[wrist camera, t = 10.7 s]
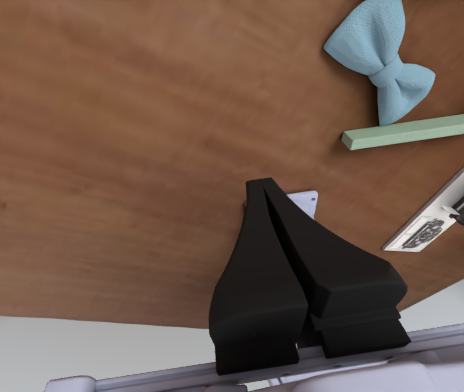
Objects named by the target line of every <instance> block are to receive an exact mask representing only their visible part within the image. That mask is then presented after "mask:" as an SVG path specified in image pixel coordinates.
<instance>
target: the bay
mask: <svg viewBox="0 0 464 392" xmlns="http://www.w3.org/2000/svg"><path fill="white" fill-rule="evenodd" d="M459 134H464V114H460V115H453V116H446V117H439V118H432V119H426V120H419V121H412V122H405V123H398V124H391V125H385V126H377V127H370V128H363V129H356V130H349V131H344V132H343V136H342V140H341V141H342V142H343V143H344V144H345V145H346V146H347V147H348V148H349V149H350V150H356V149H362V148H369V147H376V146H383V145H390V144H397V143H404V142H411V141H417V140H424V139H431V138H438V137H445V136H452V135H459Z"/></svg>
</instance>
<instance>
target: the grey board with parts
mask: <svg viewBox="0 0 464 392" xmlns="http://www.w3.org/2000/svg"><path fill="white" fill-rule="evenodd" d="M455 221H457V222H458V223H459V224H461V225H463V226H464V167H463V168H462V169H461V170H460V171H459V172H458V173H457V174H456V175H455V176H454V177H453V178H452V179H451V180H450V181H449V182H448V183H447V184H446V185H445V186H444V187H443V188H442V189H441V190H440V191H439V192H438V193H437V194H436V195H435V196H434V197H433V198H432V199H431V200H430V201H429V202H428V203H426V204H425V205H424V206H423V207H422V208H421V209H420V210H419V211H418V212H417V213H416V214H415V215H414V216H413V217H412V218H411V219H410V220H409V221H408V222H407V223H406V224H405V225H404V226H403V227H402V228H401V229H400V230H399V231H398V232H397V233H396V234H395V235H394V236H393V237H392V238H391V239H390V240H389V241H388V242H387V243H386V244H385V245H384V246H383V247H382V249H383V250H391V251H411V252H420V251H421V250H422V249H423V248H424V247H426V246H427V245H428V244H429V243H430V242H432V241H433V240H434V239H435V238H436V237H438V236H439V235H440V234H441V233H442V232H444V231H445V230H446V229H447V228H448V227H449V226H451V225H452V224H453V223H454V222H455Z"/></svg>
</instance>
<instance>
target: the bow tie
mask: <svg viewBox="0 0 464 392" xmlns="http://www.w3.org/2000/svg"><path fill="white" fill-rule="evenodd" d="M404 30H405V16H404V11H403V6H402V2H401V0H366V1H364V2H362V3H361V4H360V5H359V6H357V7H356V8H355V9H354V10H353V11H352V12H351V13H350V14H349V15H348V16H347V17H346V18H345V20H344V21H343V22H342V23H341V24H340V25H339V27H338V28H337V29H336V30H335V31H334V33H333V34H332V35H331V36H330V38H329V39H328V40H327V42H326V43H325V45H324V47H323V48H324V49H325V51H326V52H328V53H329V54H330V55H331V56H332V57H333V58H334V59H336V60H337V61H338V62H339V63H341V64H342V65H344V66H345V67H347V68H349V69H351V70H353V71H356V72H359V73H362V74H365V75H368V77H369V79H370V80H371V82H372V83H373V84H374V85H375V86H377V87H378V88H377V92H378V98H377V101H378V116H379V125H380V126H385V125H389V124H391V123H393V122H395V121H397V120H398V119H400V118H402V117H403V116H404V115H406V114H407V113H408V112H409V111H410V110H411V109H412V108H413V107H415V106H416V105H417V104H418V103H419V102H420V101H421V100H422V99H424V97H425V96H426V95H427V94H428V92H429V91H430V89H431V87H432V85H433V82H434V79H435V74H434V73H433V72H432V71H431V70H429V69H428V68H425V67H422V66H420V65H417V64H403V63H402V61H401V60H400V58H399V55H398V53H397V52H398V48H399V46H400V43H401V41H402V38H403V35H404Z"/></svg>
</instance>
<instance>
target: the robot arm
mask: <svg viewBox="0 0 464 392" xmlns="http://www.w3.org/2000/svg"><path fill="white" fill-rule="evenodd" d="M246 193H247V200H246V203H245V206H246V208H245V214H244V218H243V223H242V227H241V230H240V233H239V237H238V239H237V242H236V245H235V248H234V250H233V253H232V255H231V257H230V259H229V261H228V264H227V266H226V268H225V270H224V272H223V274H222V276H221V277H220V279H219V281H218V283H217V285H216V287H215V290H214V293H213V297H212V301H211V305H210V311H209V334H210V337H211V339H212V341H213V343H214V345H215V355H216V362H212V363H205V364H199V365H192V366H186V367H180V368H173V369H166V370H161V371H154V372H147V373H141V374H134V375H128V376H121V377H116V378H108V379H102V380H95V379H94V378H93V377H90V376H73V377H67V378H61V379H54V380H50V381H49V382H48V383H47V385H46V387H45V390H44V392H248V391H247V386H246V385H236V384H243V383H249V382H256V381H262V380H267V381H268V382H269V384H270V386H271V387H266V388H262V389H258V390H253V391H249V392H464V323H463V324H457V325H451V326H443V327H437V328H431V329H424V330H418V331H412V332H406V331H405V330H404V328H403V326H402V325H401V323H400V321H399V320H398V319H400V318H401V316H400V314H399V312H398V310H397V309H396V305H397V304H398V303H399V302H400V301H401V300H402V298H403V297H404V296H405V294H406V293H407V285H406V284H405V282H404V281H403V279H402V278H401V276H400V275H399V274H398V272H397V271H396V270H395V269H394V267H393V266H392V265H391V264H390V263H389V262H388V261H386V260H384V259H381V258H379V257H377V256H375V255H373V254H371V253H368V252H366V251H364V250H362V249H360V248H358V247H356V246H355V245H353V244H351V243H349V242H347V241H345V240H344V239H342V238H341V237H339V236H337V235H336V234H334V233H332V232H331V231H329V230H328V229H326V228H325V227H323V226H322V225H321V224H319V223H318V222H317V221H315V219H314V213H315V208H316V202H317V197H318V193H317V192H316V191H307V192H300V193H293V194H287V195H286V194H285V193H284V191H283V190H282V189H281V188H280V187H279V186H278V185H277V184H276V182H275V181H274V180H273V179H272V178H271V177H270V178H264V179H257V180H250V181H247V182H246Z"/></svg>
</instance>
